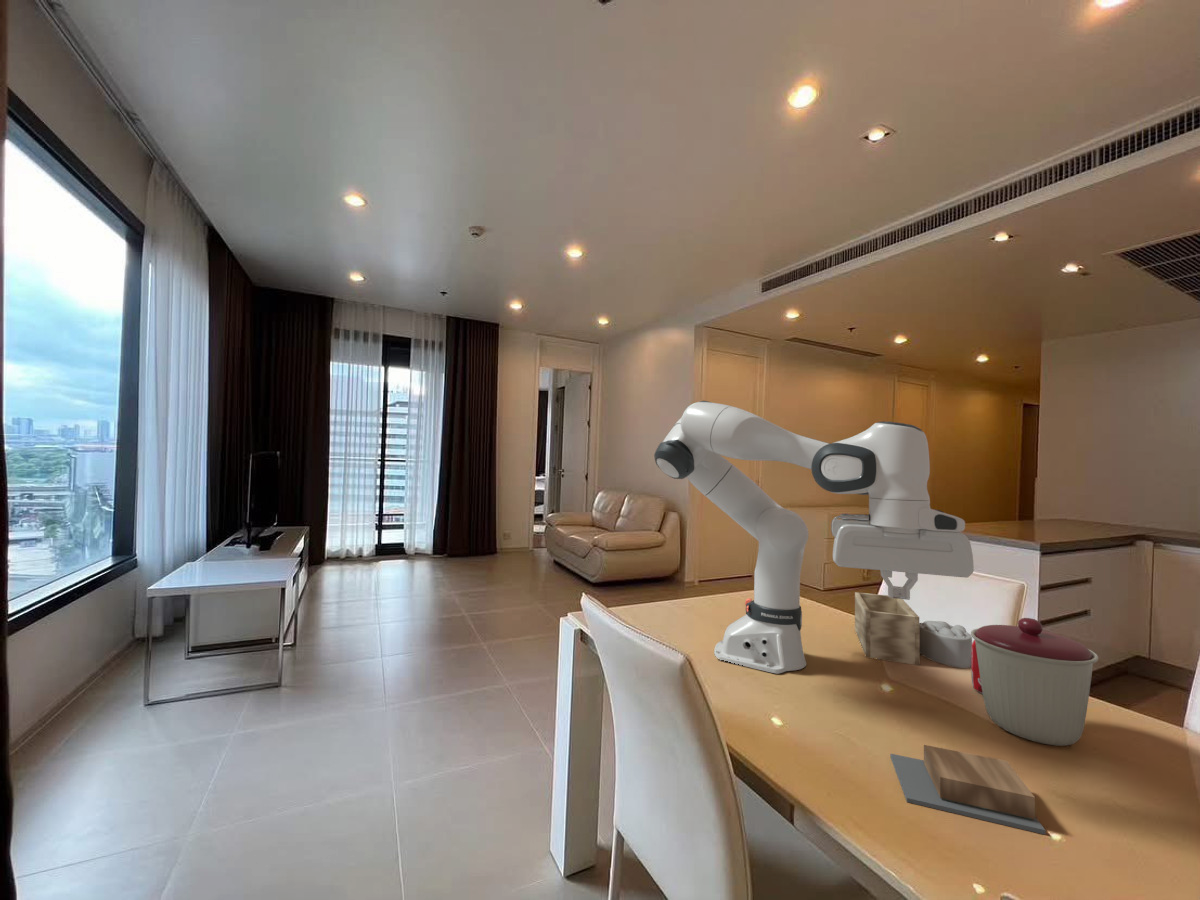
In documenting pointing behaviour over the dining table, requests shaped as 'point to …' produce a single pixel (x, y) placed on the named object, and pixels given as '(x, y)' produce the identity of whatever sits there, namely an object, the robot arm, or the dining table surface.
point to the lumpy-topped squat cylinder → (945, 643)
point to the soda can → (975, 669)
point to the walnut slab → (978, 782)
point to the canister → (1034, 681)
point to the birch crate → (887, 628)
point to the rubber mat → (924, 793)
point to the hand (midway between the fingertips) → (898, 598)
